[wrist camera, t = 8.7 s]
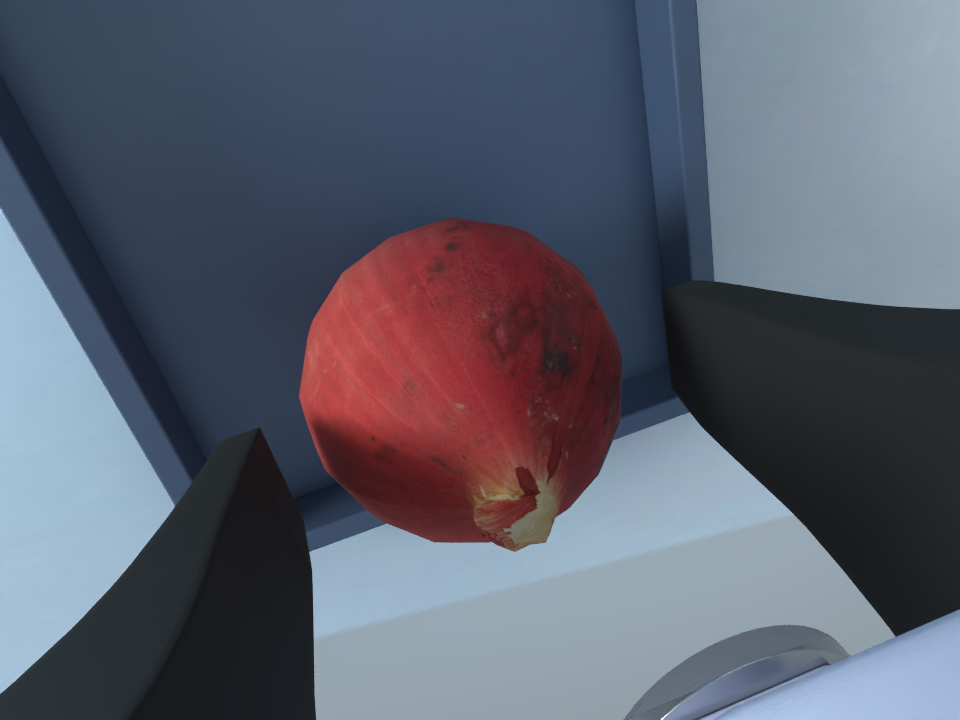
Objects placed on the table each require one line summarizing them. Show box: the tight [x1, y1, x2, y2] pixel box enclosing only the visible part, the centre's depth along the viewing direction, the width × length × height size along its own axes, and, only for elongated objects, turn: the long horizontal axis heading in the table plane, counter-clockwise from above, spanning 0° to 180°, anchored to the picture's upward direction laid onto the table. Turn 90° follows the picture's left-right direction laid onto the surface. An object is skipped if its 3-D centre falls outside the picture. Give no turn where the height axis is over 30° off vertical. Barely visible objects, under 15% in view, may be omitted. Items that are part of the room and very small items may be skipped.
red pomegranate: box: [299, 218, 622, 552], centre depth 13 cm, size 6×6×8 cm
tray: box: [0, 0, 714, 552], centre depth 14 cm, size 15×13×2 cm
